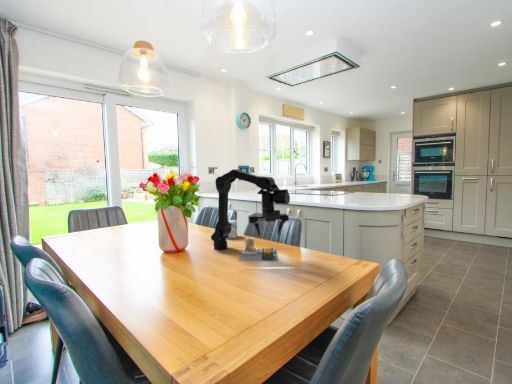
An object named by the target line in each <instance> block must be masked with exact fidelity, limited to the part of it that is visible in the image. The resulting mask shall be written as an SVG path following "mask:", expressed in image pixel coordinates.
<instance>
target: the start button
mask: <svg viewBox="0 0 512 384" xmlns="http://www.w3.org/2000/svg"><path fill="white" fill-rule="evenodd" d="M263 248H264V254H271V248H272V247H269V246H266V247H263Z"/></svg>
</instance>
